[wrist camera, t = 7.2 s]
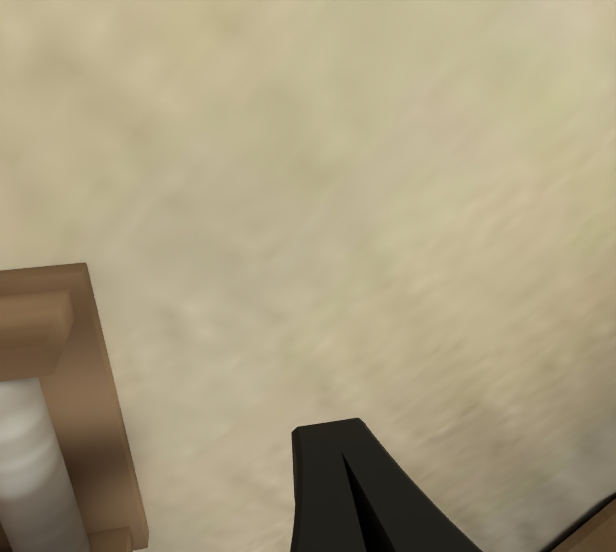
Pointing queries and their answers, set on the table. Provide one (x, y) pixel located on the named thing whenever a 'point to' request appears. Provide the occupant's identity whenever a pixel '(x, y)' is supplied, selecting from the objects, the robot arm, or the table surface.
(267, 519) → the table surface
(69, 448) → the track
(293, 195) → the table surface
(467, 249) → the table surface
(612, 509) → the wooden block
